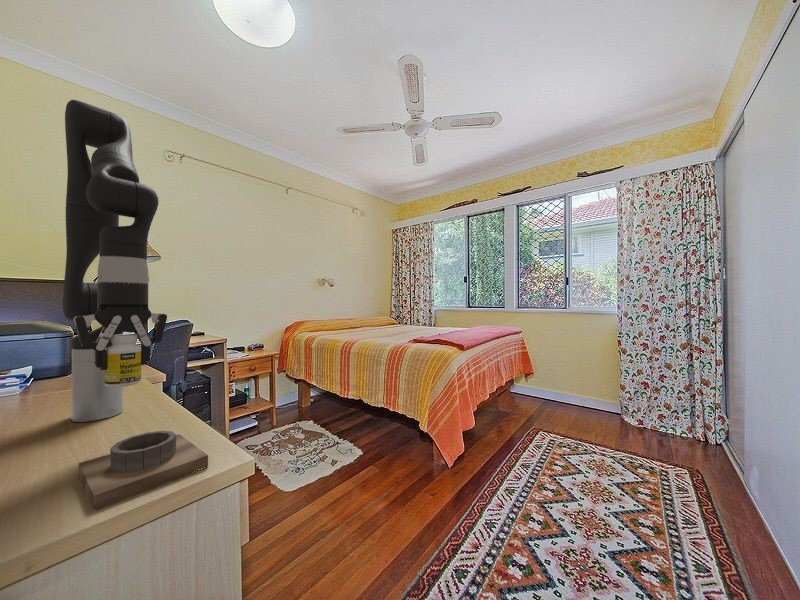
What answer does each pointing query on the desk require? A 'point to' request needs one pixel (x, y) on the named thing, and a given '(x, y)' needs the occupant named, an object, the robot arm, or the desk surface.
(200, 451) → the cup bracket
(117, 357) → the supplement bottle
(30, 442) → the desk surface
